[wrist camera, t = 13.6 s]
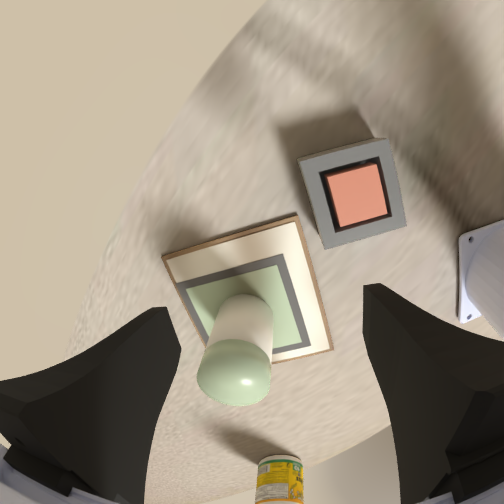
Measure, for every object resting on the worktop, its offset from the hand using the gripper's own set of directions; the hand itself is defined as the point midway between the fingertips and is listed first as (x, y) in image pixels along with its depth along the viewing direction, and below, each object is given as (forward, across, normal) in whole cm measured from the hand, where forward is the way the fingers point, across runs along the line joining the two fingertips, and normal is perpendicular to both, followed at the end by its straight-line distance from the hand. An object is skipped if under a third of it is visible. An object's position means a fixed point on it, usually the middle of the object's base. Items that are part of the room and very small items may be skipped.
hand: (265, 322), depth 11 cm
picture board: (+9, +2, +5) cm, 11 cm away
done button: (+8, -5, -3) cm, 10 cm away
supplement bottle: (+10, +3, +28) cm, 30 cm away
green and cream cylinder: (+9, +3, +6) cm, 11 cm away
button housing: (+9, -5, -2) cm, 11 cm away
